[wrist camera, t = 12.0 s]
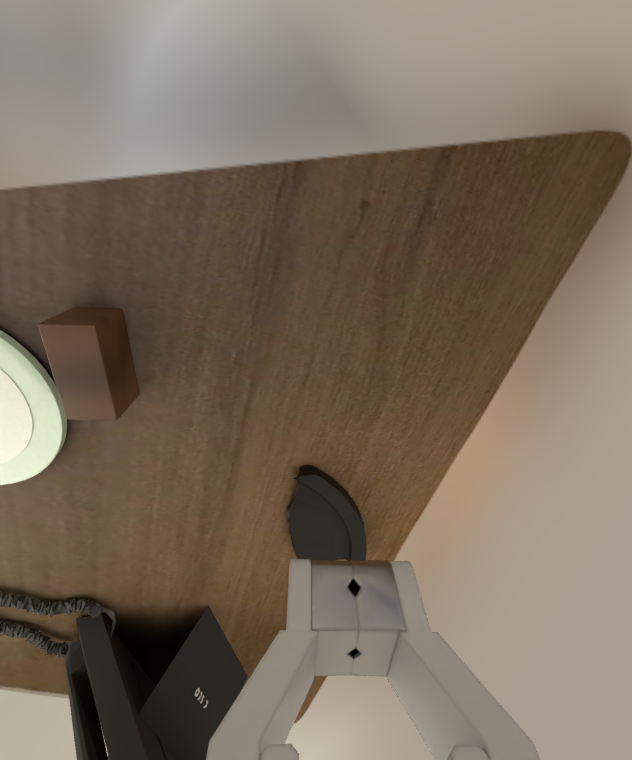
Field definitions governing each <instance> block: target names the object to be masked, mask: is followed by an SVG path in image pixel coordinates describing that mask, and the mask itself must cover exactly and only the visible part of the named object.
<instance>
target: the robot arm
mask: <svg viewBox="0 0 632 760" xmlns="http://www.w3.org/2000/svg"><path fill="white" fill-rule="evenodd" d="M335 675H360V676H385V677H387V680H388V682H389V683H390V685H391V687H392V688H393V690H394V692H395V693H396V695H397V697H398V698H399V700H400V701H401V703H402V705H403V706H404V708H405V710H406V711H407V713H408V715H409V716H410V718H411V720H412V721H413V723H414V724H415V726H416V728H417V730H418V731H419V733H420V735H421V736H422V738H423V740H424V741H425V743H426V744H427V746H428V748H429V749H430V751H431V753H432V754H433V756H434V758H435V759H436V760H540V758H539V756H538V753H537V751H536V748H535V746H534V744H533V742H532V740H531V739H530V738H529V737H528V736H527V735H526V734H525V732H524V731H523V730H522V729H521V728H520V727H519V725H518V724H517V723H516V722H515V721H514V720H513V719H512V717H511V716H510V715H509V714H508V713H507V712H506V711H505V709H504V708H503V707H502V706H501V705H500V704H499V703H498V701H497V700H496V699H495V698H494V697H493V696H492V694H491V693H490V692H489V691H488V690H487V689H486V688H485V687H484V685H483V684H482V683H481V682H480V681H479V680H478V678H477V677H476V676H475V675H474V674H473V673H472V671H471V670H470V669H469V668H468V667H467V666H466V665H465V663H464V662H463V661H462V660H461V659H460V658H459V657H458V655H457V654H456V653H455V652H454V651H453V650H452V648H451V647H450V646H449V645H448V644H447V643H446V642H445V640H444V639H443V638H442V637H441V636H440V635H439V633H437V632H431V630H430V626H429V623H428V619H427V616H426V612H425V609H424V605H423V601H422V598H421V594H420V591H419V588H418V584H417V580H416V577H415V573H414V570H413V567H412V565H411V563H410V562H408V561H373V560H350V561H334V560H310V559H291V560H290V567H289V586H288V606H287V626H286V630H280V631H279V633H278V634H277V636H276V637H275V639H274V640H273V642H272V643H271V645H270V647H269V648H268V650H267V651H266V653H265V654H264V656H263V658H262V659H261V661H260V662H259V664H258V665H257V667H256V669H255V670H254V672H253V673H252V675H251V676H250V678H249V680H248V681H247V683H246V684H245V686H244V687H243V689H242V691H241V692H240V694H239V695H238V697H237V698H236V700H235V702H234V703H233V705H232V706H231V708H230V709H229V711H228V713H227V714H226V716H225V717H224V719H223V720H222V722H221V724H220V725H219V727H218V728H217V730H216V731H215V733H214V734H213V736H212V738H211V739H210V741H209V746H208V751H207V757H206V760H299V753H298V752H297V751H296V749H295V748H294V747H293V746H292V744H284V743H285V741H286V739H287V736H288V734H289V732H290V730H291V728H292V726H293V723H294V721H295V719H296V717H297V715H298V713H299V710H300V708H301V706H302V704H303V702H304V700H305V697H306V695H307V693H308V691H309V689H310V687H311V684H312V682H313V680H314V676H335Z"/></svg>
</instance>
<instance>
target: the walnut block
mask: <svg viewBox="0 0 632 760" xmlns="http://www.w3.org/2000/svg"><path fill="white" fill-rule="evenodd" d="M38 328H39V331H40V334H41V337H42V341H43V344H44V347H45V350H46V354H47V357H48V360H49V363H50V367H51V370H52V373H53V376H54V380H55V383H56V386H57V389H58V393H59V396H60V399H61V402H62V406H63V409H64V412H65V415H66V419H70V420H118V418H119V417H120V416H121V415H122V414H123V413H124V411H125V410H126V409H127V408H128V407H129V406H130V405H131V403H132V402H133V401H134V400H135V399H136V398H137V396H138V395H139V390H138V385H137V379H136V374H135V369H134V364H133V359H132V354H131V349H130V344H129V339H128V334H127V329H126V324H125V319H124V314H123V310H122V309H103V308H72V309H69V310H67V311H65V312H63V313H61V314H58V315H56V316H54V317H52V318H50V319H48V320H45V321H43V322H41V323H39V324H38Z"/></svg>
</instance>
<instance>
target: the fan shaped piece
mask: <svg viewBox="0 0 632 760" xmlns="http://www.w3.org/2000/svg"><path fill="white" fill-rule="evenodd" d="M293 479H296V480H298V486H297V489H296V492H295V495H294V497H293V499H292V501H291V503H290V505H289V506H288V507H287V518H288V523H289V529H290V533H291V538H292V544H293V547H294V550H295V552H296V555H297V557H298V559H310V560H338V559H345V560H348V561H350V560H365V559H366V536H365V531H364V523H363V521H362V517H361V514H360V512H359V510H358V507H357V506H356V504H355V502H354V501H353V500H352V498H351V497H350V496H349V494H348V493H347V491H345V490H344V489H343V488H342V487H341V486H340V485H339V484H338V483H337V482H336V481H335V480H334V479H332V478H331V477H330V476H328V475H326V474H325V473H323V472H322V471H320V470H319V469H317V468H315V467H314V466H302V467H300V473H299V475H298V476H297V477H296V478H293Z"/></svg>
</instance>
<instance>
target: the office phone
mask: <svg viewBox="0 0 632 760" xmlns="http://www.w3.org/2000/svg"><path fill="white" fill-rule="evenodd" d="M20 595H21V594H15V596H14V595H10V594H9V593H8V592H7V594H6V592H4V591H3V592H2V591H1V592H0V607H1V606H2V605H3V606H5V607H8V608H9V607H11V608H16V611H17V610H19V609H26V610H27V612H35V611H36V613H37V614H38V615H42V616H46V615H47V614H48V613H49V614H50V616H51V617H52V615H56V614H60V613H68V614H70V613H71V612H72V611H73V612H76V611H77V612H78V611H79V610H81V612H80V614H81V613H83V611H84V610H85V611H84V613H86V612H87V611H88V612H87V613H88V614H90V616H87V617H82V618H76V620H77V626H78V632H79V638H80V640H77V641H73V642H69V643H68V645H69V648H68V645H67V643H65V642H64V643H63V644H62V643H56V644H55V641H53V642H52V641H50V639H51V638H49V637H48V636H45V635H43V634H41V633H42V632H39V630H40V629H34V628H30V626H29V625H28V626H27V627H26V629H25V630H24V628H25V625H22V624H20V623H17V624H14V622H13V623H10V624H9V622H8V623H5V621H4V620H3V621H2V622H1V620H2V619H0V623H1V624H0V636H1V635H8V636H10V637H12V638H13V637H16V638H18V637H22V638H26V637H27V638H26V640H25V642H26V641H27V640H29V639H30V640H29V641H28V643H32V644H35V643H37V644H36V646H35V648H36V647H37V646H38V647H39V648H40V649H41V650H43V651H46V652H47V654H46V655H48V654H53V653H55V654H56V655H57V657H64V656H65V667H66V675H67V683H68V691H69V699H70V707H71V715H72V723H73V731H74V739H75V747H76V754H77V760H206V757H207V751H208V746H209V741H210V739H211V738H212V736H213V734H214V733H215V731H216V730H217V728H218V727H219V725H220V724H221V722H222V720H223V719H224V717H225V716H226V714H227V713H228V711H229V709H230V708H231V706H232V705H233V703H234V702H235V700H236V698H237V697H238V695H239V693H240V691H241V689H242V687H243V685H244V683H245V681H246V679H247V675H246V673H245V672H244V670H243V668H242V666H241V664H240V662H239V661H238V659H237V657H236V655H235V653H234V652H233V650H232V648H231V646H230V644H229V642H228V641H227V639H226V637H225V635H224V633H223V632H222V630H221V628H220V626H219V624H218V622H217V621H216V619H215V617H214V615H213V613H212V612H211V610H210V608H209V606H208V607H207V609H206V610H205V612H204V613H203V615H202V616H201V618H200V619H199V621H198V623H197V624H196V626H195V627H194V629H193V630H192V632H191V633H190V635H189V636H188V638H187V640H186V641H185V643H184V644H183V646H182V647H181V649H180V650H179V652H178V653H177V655H176V657H175V658H174V660H173V661H172V663H171V664H170V666H169V667H168V669H167V670H166V672H165V674H164V675H163V677H162V678H161V680H160V681H159V683H158V684H157V686H156V685H155V684H154V683H153V682H152V680H151V679H150V678H149V676H148V675H147V674H146V673H145V671H144V670H143V669H142V667H141V666H140V665H139V664H138V662H137V661H136V660H135V658H134V657H133V656H132V654H131V653H130V652H129V651H128V649H127V648H126V647H125V645H124V644H123V643H122V641H121V640H120V639H119V637H118V636H117V635H116V633H115V632H114V631H113V630H114V628H115V625H116V619H115V613H114V612H113V611H110V610H108V609H106V608H103V607H101V606H100V605H99V604H97V603H96V604H94V602H93V601H91V602H90V601H89V599H88V600H87V599H85V598H84V599H81V600H76V599H75V598H74V599H72V600H71V601H69V600H68V599H66V601H65V602H64V601H59V602H58V603H57V602H53V604H52V602H51V601H50V602H48V603H47V602H45V601H43V602H42V600H39V599H34V600H32V599H30V598H29V599H28V598H26V597H25V596H23V597H20ZM4 596H5V597H4ZM3 598H4V599H3ZM2 599H3V600H2ZM41 603H42V604H41ZM46 603H47V604H46ZM45 604H46V605H45ZM40 605H41V606H40ZM44 605H45V606H44ZM73 605H74V606H73ZM81 605H82V606H81ZM70 610H71V611H70ZM101 612H106V613H107V614H108V615H109V617H110V618H111V619H112V620H113V624H112V628H111V627H110V625H109V624H108V623H107V621H106V620H105V619H104V617H103V616H102V615H101ZM8 624H9V625H8ZM13 624H14V625H13ZM38 632H39V633H38ZM37 633H38V634H37ZM27 635H28V636H27ZM49 641H50V642H49ZM51 643H52V644H51ZM43 646H44V647H43ZM65 646H66V648H65ZM42 647H43V648H42ZM47 648H48V649H47ZM63 651H64V653H63ZM63 654H64V655H63ZM99 719H100V720H99ZM100 723H101V724H100ZM101 727H102V729H101ZM102 731H103V734H102ZM103 735H104V738H103ZM104 739H105V743H106V746H107V751H108V757H107V753H106V748H105V743H104Z"/></svg>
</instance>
